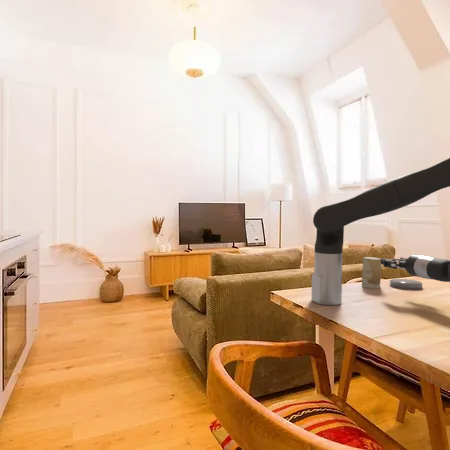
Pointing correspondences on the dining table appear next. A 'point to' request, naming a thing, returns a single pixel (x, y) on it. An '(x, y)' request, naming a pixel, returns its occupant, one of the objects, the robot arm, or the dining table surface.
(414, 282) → the stand
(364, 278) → the skincare box
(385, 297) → the dining table surface
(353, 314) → the dining table surface
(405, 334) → the dining table surface
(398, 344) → the dining table surface
